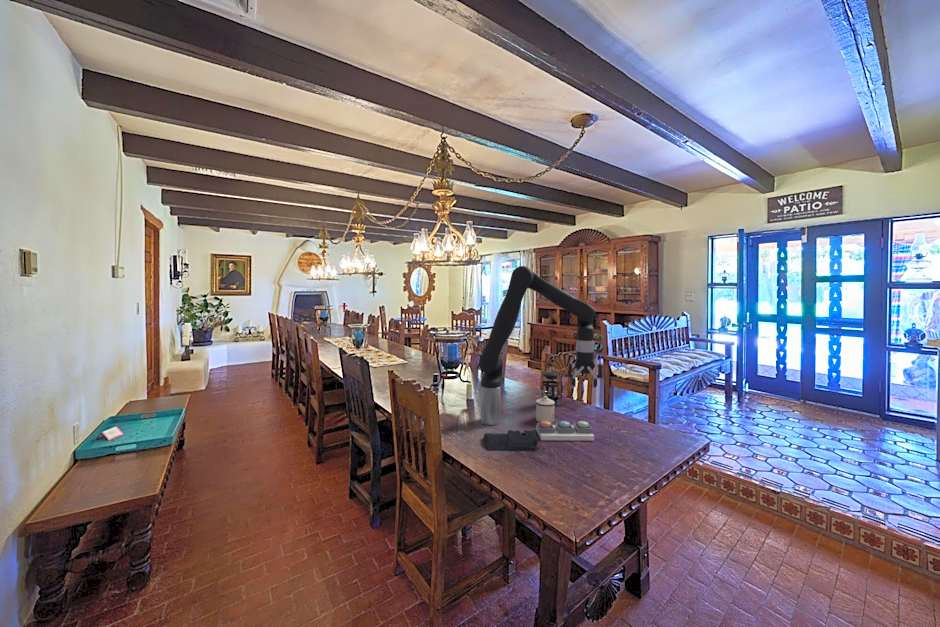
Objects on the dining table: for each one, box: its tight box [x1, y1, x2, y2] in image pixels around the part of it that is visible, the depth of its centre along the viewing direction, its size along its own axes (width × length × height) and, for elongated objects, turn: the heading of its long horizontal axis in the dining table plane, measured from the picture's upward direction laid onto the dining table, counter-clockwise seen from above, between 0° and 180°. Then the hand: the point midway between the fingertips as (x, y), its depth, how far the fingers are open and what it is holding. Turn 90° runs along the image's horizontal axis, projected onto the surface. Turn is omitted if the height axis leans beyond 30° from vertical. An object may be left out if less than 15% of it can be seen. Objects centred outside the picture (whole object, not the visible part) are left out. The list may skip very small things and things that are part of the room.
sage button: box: [577, 420, 589, 428], centre depth 161 cm, size 4×4×2 cm
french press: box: [541, 361, 563, 408], centre depth 203 cm, size 12×9×23 cm
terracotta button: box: [540, 421, 551, 428], centre depth 161 cm, size 4×4×2 cm
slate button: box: [558, 420, 571, 428], centre depth 161 cm, size 4×4×2 cm
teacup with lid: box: [535, 395, 555, 424], centre depth 180 cm, size 12×9×12 cm
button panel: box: [535, 422, 595, 442], centre depth 162 cm, size 22×12×4 cm, turn 90°
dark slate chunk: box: [482, 429, 539, 452], centre depth 153 cm, size 15×22×5 cm
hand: (584, 386), depth 164 cm, fingers open, 8 cm apart
